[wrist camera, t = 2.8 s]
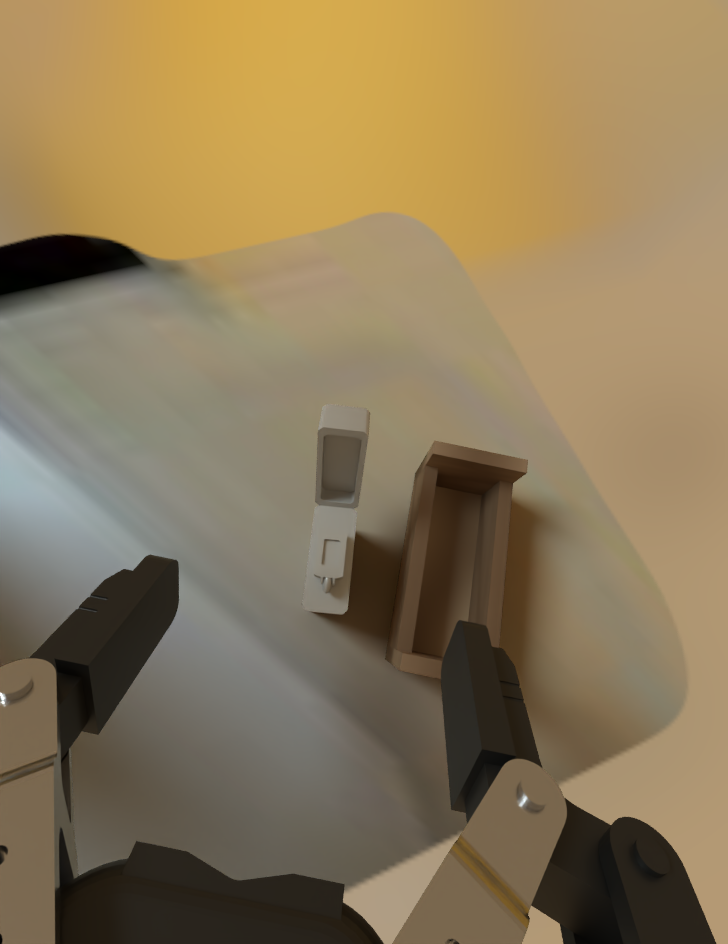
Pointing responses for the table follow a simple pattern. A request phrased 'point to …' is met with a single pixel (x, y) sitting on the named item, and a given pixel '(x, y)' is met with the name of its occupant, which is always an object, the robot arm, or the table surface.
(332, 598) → the lighter
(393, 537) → the table surface
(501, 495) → the open wooden box
